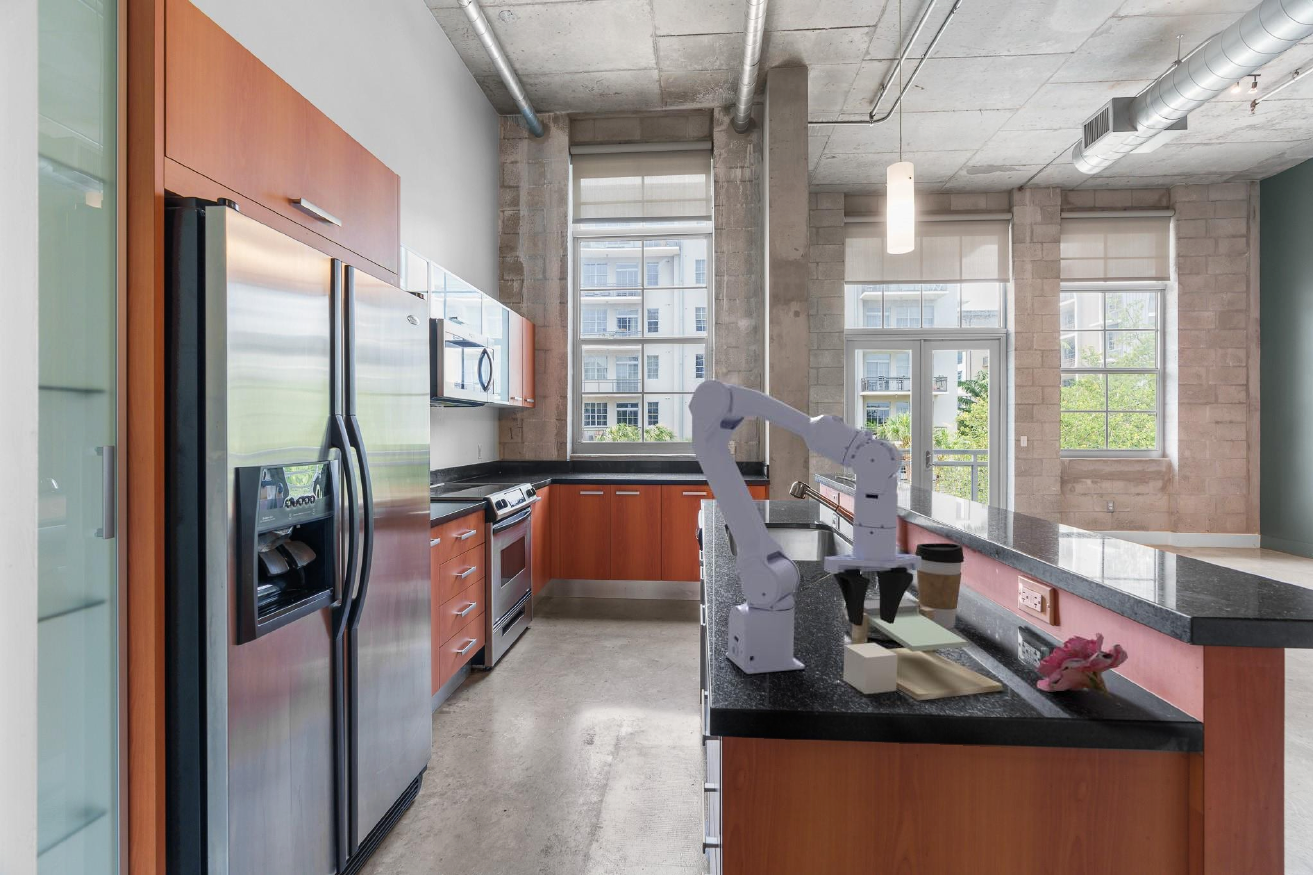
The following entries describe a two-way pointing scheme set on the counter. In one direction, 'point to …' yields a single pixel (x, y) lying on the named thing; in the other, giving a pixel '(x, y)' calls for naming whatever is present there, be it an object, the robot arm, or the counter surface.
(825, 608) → the counter surface
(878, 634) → the rock
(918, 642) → the trapdoor
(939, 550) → the coffee cup
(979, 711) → the counter surface
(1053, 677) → the flower
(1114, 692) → the counter surface
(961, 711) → the counter surface
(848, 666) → the cream cube
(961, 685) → the stand
